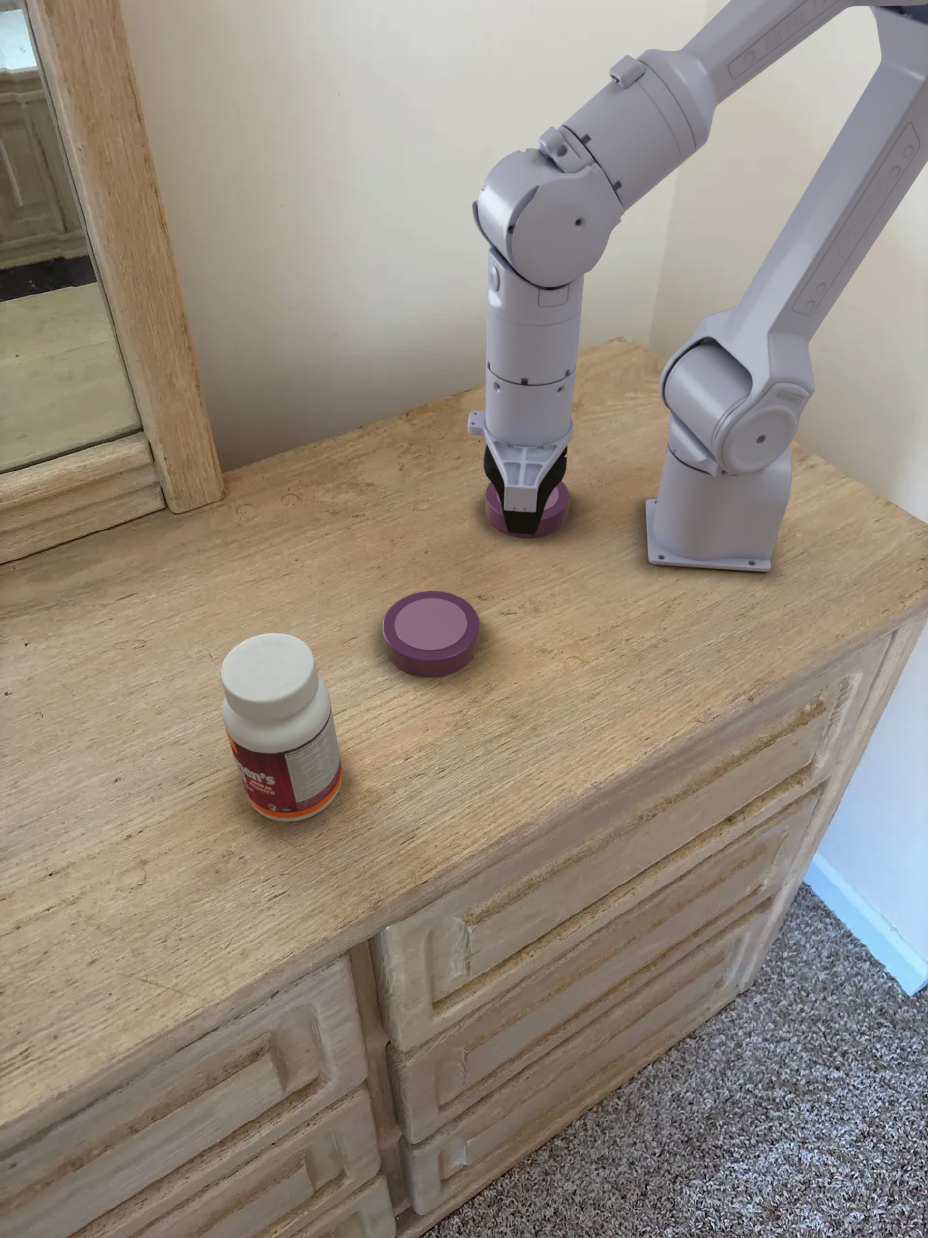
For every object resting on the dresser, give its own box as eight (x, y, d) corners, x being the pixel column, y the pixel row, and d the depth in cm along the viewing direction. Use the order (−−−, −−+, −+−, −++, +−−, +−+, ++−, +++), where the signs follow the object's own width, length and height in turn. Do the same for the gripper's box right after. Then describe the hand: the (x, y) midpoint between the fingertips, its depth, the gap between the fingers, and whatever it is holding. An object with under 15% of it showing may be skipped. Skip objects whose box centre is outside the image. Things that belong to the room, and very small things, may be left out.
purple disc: (483, 610, 68) (483, 593, 67) (474, 681, 63) (474, 663, 62) (392, 604, 69) (390, 586, 67) (376, 673, 64) (374, 655, 63)
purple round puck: (569, 488, 79) (570, 470, 77) (566, 540, 74) (568, 522, 73) (489, 483, 79) (489, 466, 78) (481, 534, 74) (481, 517, 73)
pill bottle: (226, 788, 57) (185, 670, 49) (298, 729, 60) (271, 609, 52) (292, 844, 54) (260, 729, 46) (364, 778, 58) (346, 660, 50)
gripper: (479, 305, 63) (477, 466, 72) (455, 422, 53) (457, 591, 62) (581, 310, 62) (566, 472, 72) (577, 429, 52) (560, 598, 62)
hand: (522, 527), depth 67 cm, fingers closed
